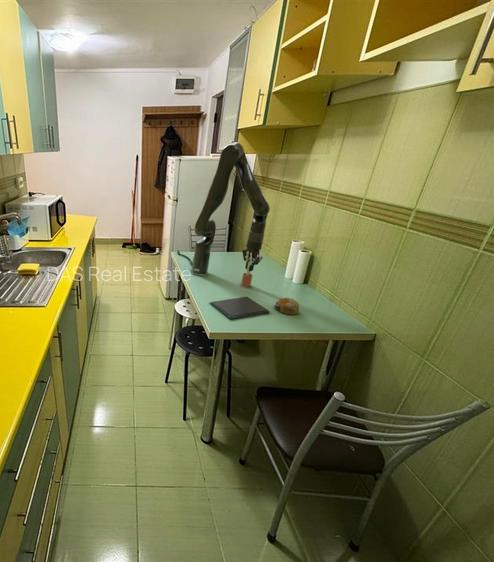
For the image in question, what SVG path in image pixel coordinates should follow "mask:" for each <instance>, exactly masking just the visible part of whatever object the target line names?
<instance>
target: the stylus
mask: <svg viewBox="0 0 494 562" xmlns="http://www.w3.org/2000/svg"><path fill="white" fill-rule="evenodd" d="M249 266H250V261H249V262H248V267H247V270H246V272H245V273H246V276H250V274H251V272H252V271H249Z"/></svg>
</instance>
